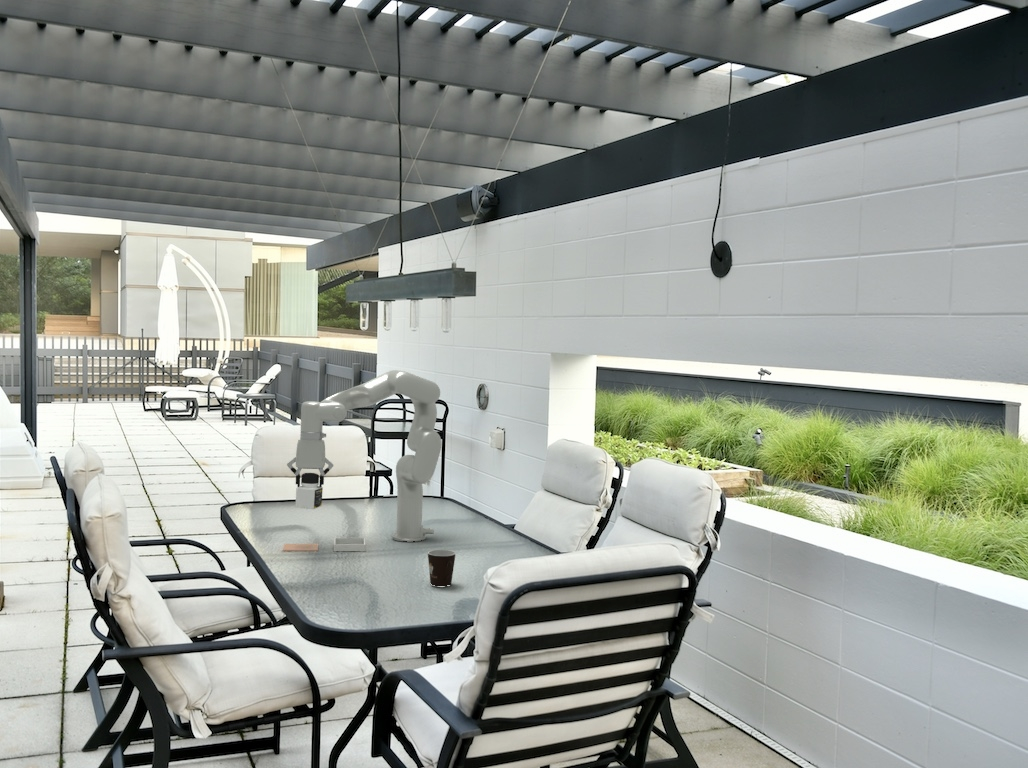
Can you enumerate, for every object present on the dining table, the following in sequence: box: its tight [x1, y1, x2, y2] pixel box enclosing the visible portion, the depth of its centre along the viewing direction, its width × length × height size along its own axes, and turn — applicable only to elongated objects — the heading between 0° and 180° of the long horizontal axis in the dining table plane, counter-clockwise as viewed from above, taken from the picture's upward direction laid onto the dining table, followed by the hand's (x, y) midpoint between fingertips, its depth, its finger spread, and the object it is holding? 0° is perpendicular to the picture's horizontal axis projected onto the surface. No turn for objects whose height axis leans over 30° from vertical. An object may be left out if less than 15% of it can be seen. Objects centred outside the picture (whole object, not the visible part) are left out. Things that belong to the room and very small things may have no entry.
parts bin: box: [333, 537, 366, 552], centre depth 335 cm, size 11×11×2 cm
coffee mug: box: [427, 549, 457, 586], centre depth 288 cm, size 12×9×10 cm
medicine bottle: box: [295, 472, 324, 510], centre depth 331 cm, size 7×7×12 cm
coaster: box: [281, 543, 320, 551], centre depth 332 cm, size 12×10×1 cm
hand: (309, 486), depth 331 cm, fingers closed on medicine bottle, 7 cm apart
